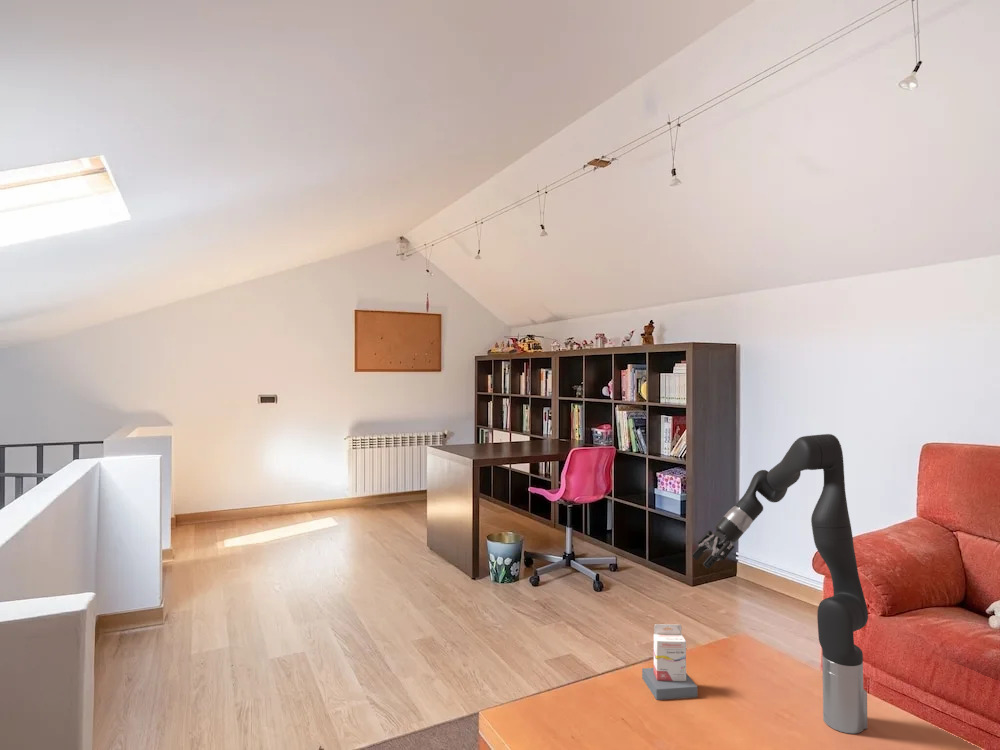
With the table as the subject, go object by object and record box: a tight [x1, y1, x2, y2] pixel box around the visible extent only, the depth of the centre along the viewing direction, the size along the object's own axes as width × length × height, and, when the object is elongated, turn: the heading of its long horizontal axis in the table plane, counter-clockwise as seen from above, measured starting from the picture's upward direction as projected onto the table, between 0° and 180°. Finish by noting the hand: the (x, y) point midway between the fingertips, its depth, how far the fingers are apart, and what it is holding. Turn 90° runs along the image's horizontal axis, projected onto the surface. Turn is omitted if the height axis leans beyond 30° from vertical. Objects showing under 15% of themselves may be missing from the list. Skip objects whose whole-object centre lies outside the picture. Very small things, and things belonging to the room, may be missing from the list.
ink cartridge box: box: [653, 623, 687, 681], centre depth 176 cm, size 9×5×15 cm, turn 88°
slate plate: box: [641, 667, 699, 701], centre depth 176 cm, size 12×12×3 cm
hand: (699, 562), depth 188 cm, fingers open, 8 cm apart
